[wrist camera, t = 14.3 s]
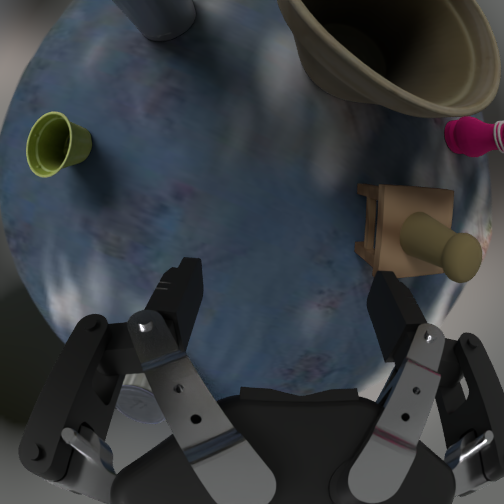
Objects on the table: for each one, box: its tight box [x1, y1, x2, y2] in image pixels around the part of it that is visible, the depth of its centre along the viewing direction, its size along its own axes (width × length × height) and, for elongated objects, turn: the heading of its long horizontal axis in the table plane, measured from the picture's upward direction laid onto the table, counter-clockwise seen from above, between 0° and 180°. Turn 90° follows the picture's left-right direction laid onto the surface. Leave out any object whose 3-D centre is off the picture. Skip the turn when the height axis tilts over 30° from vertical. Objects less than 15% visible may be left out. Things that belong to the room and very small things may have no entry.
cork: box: [400, 212, 482, 283], centre depth 25 cm, size 6×6×11 cm
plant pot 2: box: [277, 0, 501, 118], centre depth 22 cm, size 25×25×22 cm
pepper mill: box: [444, 116, 504, 157], centre depth 26 cm, size 7×7×20 cm
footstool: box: [355, 183, 454, 278], centre depth 35 cm, size 12×12×10 cm
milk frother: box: [115, 373, 165, 424], centre depth 41 cm, size 14×16×15 cm
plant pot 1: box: [26, 112, 92, 177], centre depth 31 cm, size 9×9×9 cm
